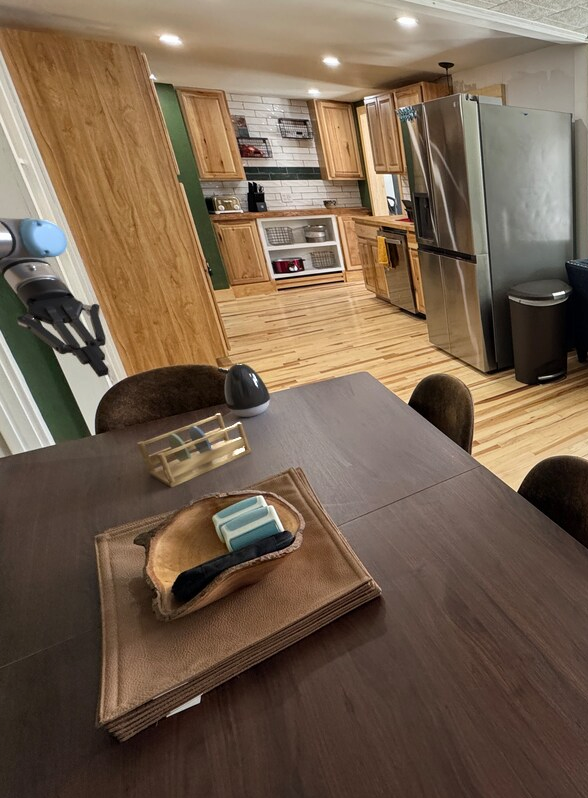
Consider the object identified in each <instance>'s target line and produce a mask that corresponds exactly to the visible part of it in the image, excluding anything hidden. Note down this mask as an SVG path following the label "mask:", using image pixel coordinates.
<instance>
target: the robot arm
mask: <svg viewBox="0 0 588 798" xmlns="http://www.w3.org/2000/svg"><path fill="white" fill-rule="evenodd" d="M67 246H68V241H67V238H66V234H65V232H64V231H63V230H62V229H61V227H60V226H58V225H57V224H56V223H54V222H52V221H49V220H46V219H39V218H32V217H30V218H29V217H25V218H8V217H0V274H1V275H2V276H3V278H4V279H5V280H6V282H7V283H8V285H9V287H11V289H12V290H13V292H14V293H15V294H16V295H17V297H18V298H19V300H20V301H21V302H22V304H23V305H24V306H25V308H26V309H27V310H26V312H27V313H26V314H25V315H20V316H17V323H18V325H17V326H18V327H19V328H22V329H24V330H27V331H30V332H31V333H33V335H35V336H36V337H38V338H39V339H40V340H42V341H43V342H44V343H46V344H47V345H48V346H49V347H51V348H52V349H54V351H56V353H58V354H60V355H66V354H72V356H75V357H76V359H77V360H78V361H79V363H80V364H82V365H83V366H85V365H89V366H90V368H91V370H93V371H94V373H95V375H97V377H98V378H101V377H105V376H109V367H108V366H107V365H106V363H105V362H104V361H105V360H106V354H105V352H104V351H103V349H102V348H101V347H103V346H105V345H106V333H105V332H104V328H103V325H102V322H101V319H100V310H101V309H100V308H101V307H100V305H99V304H98V303H93V304H91V305H90V304H84V303H83V302H82V301H81V300H79V299H77V298H76V297H75V295H74V294H73V293H72V292H71V290H70V288H68V286H67V285H66V283H64V282H63V279H61V277H60V276H59V274H58V273H57V272H56V271H55V269H54V268H53V266H52V265H51V263H49V262H48V260H47V258H55V257H59V256H61V255H62V254H63V253H65V251H66V249H67ZM83 311H84V312H85V314H86V315H87V316H89V320H90V324H91V327H92V330H93V333H94V336H93V335H92V333H90V331H89V330H88V329H87V327H86V326H85V324H83V322H82V320H81V319H80V317H81V315H82V312H83ZM39 322H41V323H45V324H47V325H51V327H52V328H53V330H54V331H55V332H57V334H58V335H59V336H60V339H59V337H57V336H56V335H55V334H53V332H51V331H50V330H48V329H47V328H45V327H44V326H43V325H42V324H40V323H39ZM66 324H68V325H69V326H70V328H72V329H73V331H75V333H76V335H77V336H78V337H79V338H80V339H81V340H82V342H83V343H84V344H85V345H84V346H81V344H80V343H79V342H78V341H77V339H76V337H75V336H74V335H73V333H72V332H71V330H69V328H68V327H67V325H66ZM94 337H95V338H94ZM61 339H62V340H61Z"/></svg>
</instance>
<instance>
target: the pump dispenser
mask: <svg viewBox="0 0 588 798" xmlns="http://www.w3.org/2000/svg"><path fill="white" fill-rule="evenodd" d="M216 370H217V372H219V373H221V374H223V375H224V374H225V380H224V398H225V404H226V407H227V409H229V410H230V411H231V412H232V413H233V414H234V415H236V416H238V417H243V418H252V417H254V416H258V415H260V414H262V413H264V412H265V411H266V410H267V409H268V408H269V405H270V400H271V395H270V392H269V389H268V387H267V386H266V384H265V382H264V381H263V379H262V378H261V376H260V375H259V374H258V372H256V371H255V370H254V369H253V368H252V367H251V366H250V365H249V364H246V363H235V364H233V365H232V366H230V367H229V368H223V367H218V368H217V369H216Z"/></svg>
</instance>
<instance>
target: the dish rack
mask: <svg viewBox="0 0 588 798" xmlns="http://www.w3.org/2000/svg"><path fill="white" fill-rule="evenodd" d="M213 420H217V423H218V426H219V427H218V428H215V429H213V430H211V431H207V432H206V433H205V432H204V431H203V430H202V429H201V428H200V427H198V426H200V425H202V424H205V423H208V422H210V421H213ZM234 429H237V431H238V433H239V437H237V438H235V439H230V437H229V432H230V431H232V430H234ZM186 430H188V433H189V437H190V439H187V440H185V441H184V440H183V439H181V437H180V436H179V435H177V434H178V433H181V432H184V431H186ZM165 438H167V440H168V445H169V447H166V448H164V449H161V450H159V451H156V452H153V453H151V454H149V452H148V450H147V447H146V445H149V444H151V443H154V442H156V441H157V442H158V441H159V440H162V439H165ZM220 439H223V440H220ZM218 440H220V441H218ZM215 441H217V442H215ZM213 442H215V443H213ZM211 443H213V444H211ZM136 444H137V447H138V449H139V451H140V453H141V455H142V458H143V461H144V464H145V466H146V468H147V470H148V473H149V475H151V476H152V477H154V478H155V479H157V480H158V481H160V482H162V483H164V484H165V485H167V486H168V487H170V488H174V487H176V486H178V485H181V484H183V483H186V482H187V481H189V480H192V479H194V478H196V477H199V476H201V475H203V474H205V473H208V472H210V471H213V470H214V469H217V468H219V467H221V466H223V465H225V464H228V463H230V462H232V461H234V460H237V459H239V458H241V457H244V456H246V455H248V454H251V453H252V450H251V448H250V444H249V441H248V438H247V436H246V433H245V430H244V427H243V423H242V422H241V421H238V422H236V423H235V424H233V425H231V426H229V427H227V426H226V425H225V423H224V419H223V417H222V413H220V412H218V413H216V414H215V415H213V416H210V417H207V418H205V419H202V420H198V421H197V422H193V423H191V424H189V425H185V426H182V427H180V428H177V429H175V430H171V431H168V432H167V433H164V434H161V435H157V436H155V437H153V438H150V439H148V440H145V441H141V440H140V441H138V442H137V443H136ZM193 450H196V451H194V452H191V453H190V451H193ZM173 458H176V459H174V460H172V459H173ZM170 459H171V460H172V461H169V460H170ZM168 461H169V462H168ZM158 464H160V466H157V467H155V466H156V465H158Z"/></svg>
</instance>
